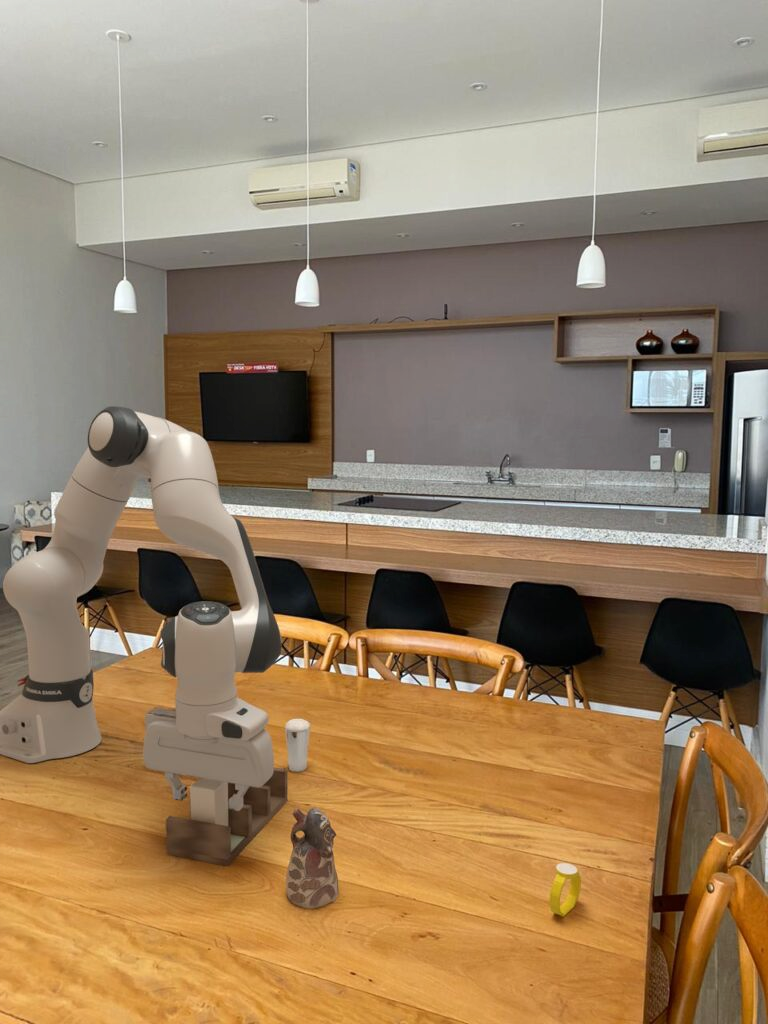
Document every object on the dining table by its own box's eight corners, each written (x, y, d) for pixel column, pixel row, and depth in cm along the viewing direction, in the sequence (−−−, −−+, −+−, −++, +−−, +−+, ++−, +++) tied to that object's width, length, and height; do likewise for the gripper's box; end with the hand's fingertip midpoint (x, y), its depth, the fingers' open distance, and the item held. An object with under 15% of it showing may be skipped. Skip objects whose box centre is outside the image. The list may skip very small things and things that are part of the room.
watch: (565, 898, 109) (568, 856, 108) (584, 907, 107) (587, 863, 106) (543, 915, 104) (546, 871, 104) (562, 924, 102) (565, 880, 102)
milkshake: (310, 775, 144) (310, 721, 143) (281, 772, 145) (281, 719, 144) (317, 764, 149) (317, 712, 147) (289, 761, 150) (289, 710, 149)
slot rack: (166, 854, 118) (165, 818, 117) (234, 791, 138) (233, 761, 137) (227, 866, 115) (227, 830, 114) (287, 800, 135) (287, 769, 134)
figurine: (331, 912, 105) (331, 825, 103) (279, 905, 106) (278, 819, 104) (343, 881, 112) (344, 799, 110) (294, 875, 113) (294, 794, 111)
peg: (191, 843, 119) (190, 786, 118) (205, 830, 123) (204, 774, 121) (215, 848, 118) (214, 790, 116) (228, 835, 121) (227, 778, 120)
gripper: (132, 712, 118) (134, 802, 119) (259, 731, 111) (259, 825, 113) (157, 698, 124) (159, 783, 125) (278, 715, 117) (278, 804, 119)
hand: (207, 803), depth 119 cm, fingers open, 8 cm apart
